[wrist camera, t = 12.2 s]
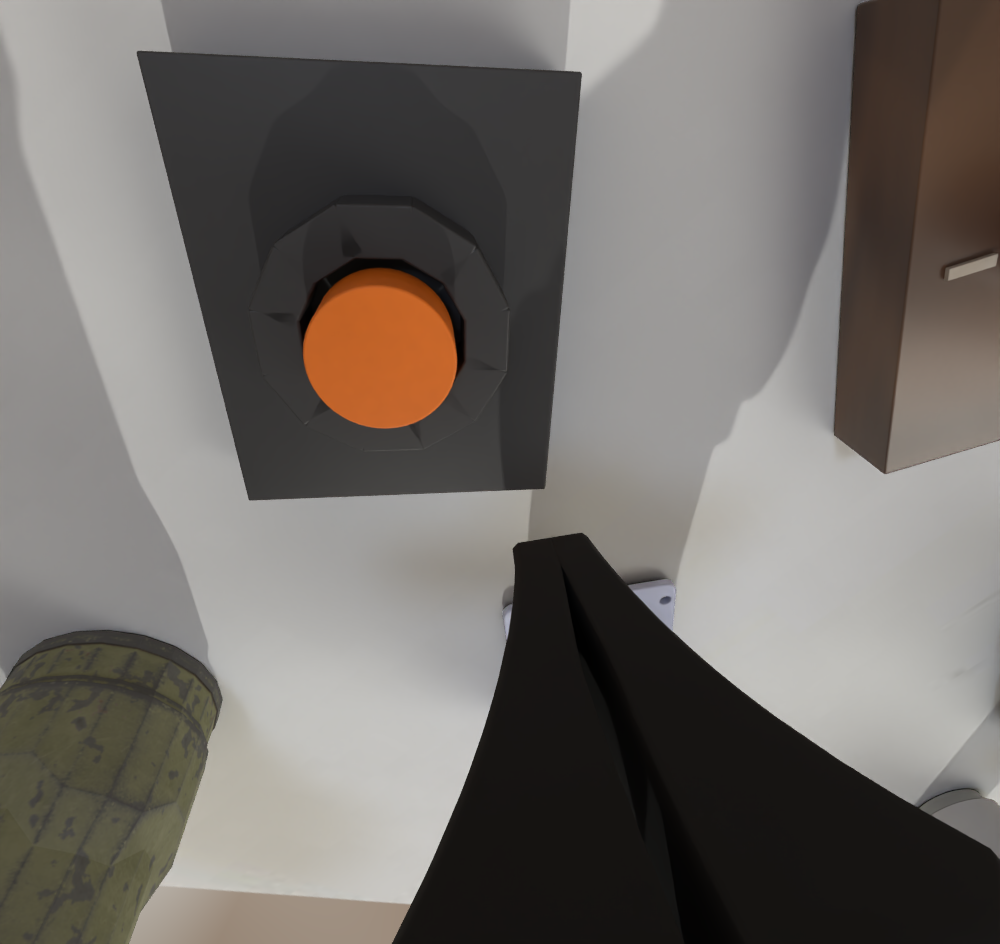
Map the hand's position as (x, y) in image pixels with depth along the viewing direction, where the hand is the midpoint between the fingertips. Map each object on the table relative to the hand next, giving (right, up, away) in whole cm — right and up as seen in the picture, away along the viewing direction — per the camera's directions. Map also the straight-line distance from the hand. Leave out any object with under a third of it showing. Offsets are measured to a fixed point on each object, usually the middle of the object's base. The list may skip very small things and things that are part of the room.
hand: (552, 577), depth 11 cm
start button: (-4, +6, +4) cm, 8 cm away
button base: (-4, +7, +7) cm, 11 cm away
